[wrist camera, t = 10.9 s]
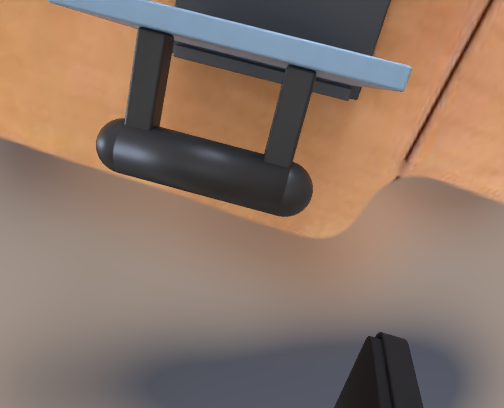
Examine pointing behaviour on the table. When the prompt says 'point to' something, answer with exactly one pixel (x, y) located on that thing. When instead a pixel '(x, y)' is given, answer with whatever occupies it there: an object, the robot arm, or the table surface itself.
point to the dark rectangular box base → (292, 32)
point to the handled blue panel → (210, 152)
